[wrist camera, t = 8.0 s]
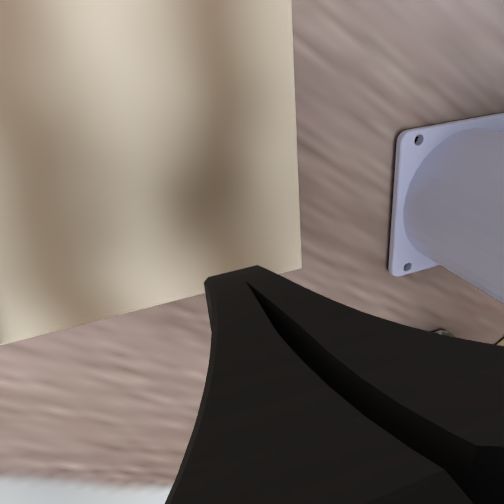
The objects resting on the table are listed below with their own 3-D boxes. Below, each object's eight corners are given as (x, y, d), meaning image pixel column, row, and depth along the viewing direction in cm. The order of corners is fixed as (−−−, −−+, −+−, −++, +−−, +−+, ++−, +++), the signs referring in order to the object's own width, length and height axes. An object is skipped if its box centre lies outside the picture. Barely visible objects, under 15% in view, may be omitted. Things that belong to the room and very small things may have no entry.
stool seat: (264, -88, 15) (333, -141, 11) (284, 250, 21) (334, 301, 17) (-414, -72, 11) (-753, -153, 6) (-140, 353, 17) (-219, 457, 12)
